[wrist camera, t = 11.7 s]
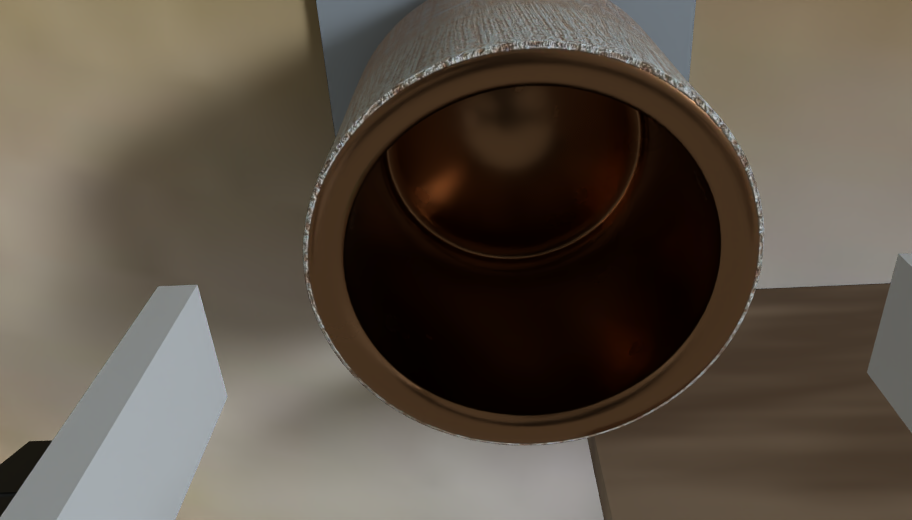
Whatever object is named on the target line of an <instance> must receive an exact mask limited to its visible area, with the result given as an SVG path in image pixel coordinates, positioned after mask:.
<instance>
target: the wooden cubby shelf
mask: <svg viewBox="0 0 912 520" xmlns="http://www.w3.org/2000/svg"><path fill="white" fill-rule="evenodd" d="M889 288H890V284H869V285H845V286H822V287H799V288H776V289H756V290H755V293H754V296H753V298H752V301H751V304H750V306H749V309H748V311H747V313H746V315H745V317H744V319H743V321H742V323H741V325H740V327H739V328H738V330H737V332H736V333H735V335H734V337H733V338H732V340H731V341H730V343H729V344H728V345H727V347H726V348H725V350H724V351H723V352H722V353H721V355H720V356H719V357H718V358H717V360H716V361H715V362H714V363H713V364H712V365H711V366H710V367H709V368H708V369H707V371H706V372H705V373H704V374H703V375H702V376H701V377H699V378H698V379H697V380H696V381H695V382H694V383H693V384H692V385H691V386H689V387H688V388H687V389H686V390H684V391H683V392H682V393H681V394H679V395H678V396H677V397H675V398H674V399H672V400H671V401H669V402H668V403H667V404H665V405H663V406H662V407H660V408H658V409H657V410H655V411H653V412H652V413H650V414H648V415H646V416H644V417H642V418H640V419H638V420H636V421H634V422H632V423H629V424H627V425H625V426H622V427H620V428H617V429H614V430H612V431H609V432H606V433H602V434H599V435H596V436H592V437H588V438H587V439H588V443H589V448H590V453H591V458H592V463H593V468H594V473H595V477H596V482H597V487H598V492H599V497H600V502H601V507H602V511H603V516H604V520H912V433H911V431H910V430H909V429H908V427H907V426H906V425H905V423H904V422H903V421H902V419H901V418H900V417H899V415H898V414H897V413H896V411H895V410H894V408H893V407H892V406H891V404H890V403H889V402H888V400H887V399H886V398H885V396H884V395H883V394H882V392H881V391H880V390H879V388H878V387H877V386H876V384H875V383H874V381H873V380H872V379H871V377H870V376H869V375H868V373H867V370H868V367H869V363H870V359H871V355H872V352H873V348H874V344H875V340H876V336H877V333H878V329H879V325H880V321H881V318H882V314H883V310H884V306H885V303H886V299H887V295H888V291H889Z"/></svg>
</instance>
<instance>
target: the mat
mask: <svg viewBox="0 0 912 520" xmlns="http://www.w3.org/2000/svg"><path fill="white" fill-rule="evenodd" d="M425 1H427V0H316V3H317V10H318V17H319V24H320V31H321V39H322V46H323V53H324V60H325V67H326V74H327V81H328V88H329V95H330V103H331V110H332V117H333V124H334V131H335V138H336V136H337V133H338V131H339V129H340V126H341V124H342V121H343V119H344V116H345V114H346V111H347V109H348V106H349V104H350V101H351V99H352V97H353V94H354V92H355V89H356V87H357V85H358V82H359V80H360V78H361V76H362V73H363V71H364V69H365V67H366V65H367V63H368V61H369V60H370V58H371V56H372V55H373V53H374V51H375V50H376V48H377V47H378V45H379V44H380V43H381V42H382V40H383V39H384V38H385V36H386V35H387V34H388V33H389V32H390V31H391V30H392V29H393V27H394V26H395V25H396V24H397V23H398V22H400V21H401V20H402V19H403V18H404V17H405V16H406V15H407V14H409V13H410V12H411V11H412V10H414V9H415V8H416V7H418V6H419V5H421V4H422V3H424V2H425ZM609 1H611V2H612V3H614V4H615V5H617V6H618V7H619V8H621V9H622V10H623V11H624V12H626V13H627V14H628V15H629V16H630V17H631V18H632V19H633V20H634V21H635V22H636V23H637V24H638V25H639V26H640V27H641V28H642V29H643V30H644V31H645V32H646V34H647V35H648V36H649V37H650V38H651V39H652V40H653V42H654V43H655V44H656V45H657V46H658V47H659V49H660V50H661V51H662V52H663V53H664V54H665V56H666V57H667V58H668V59H669V60H670V62H671V63H672V64H673V65H674V66H675V68H676V69H677V70H678V71H679V72H680V73H681V75H682V76H683V77H684V78H685V79H686V80H687V81H688V82H689V73H690V62H691V50H692V39H693V28H694V16H695V5H696V0H609Z"/></svg>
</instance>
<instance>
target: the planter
mask: <svg viewBox="0 0 912 520" xmlns="http://www.w3.org/2000/svg"><path fill="white" fill-rule="evenodd" d="M763 249H764V223H763V212H762V206H761V200H760V196H759V192H758V188H757V184H756V181H755V178H754V175H753V173H752V170H751V167H750V165H749V163H748V161H747V159H746V157H745V155H744V152H743V151H742V149H741V147H740V146H739V144H738V142H737V140H736V139H735V137H734V135H733V134H732V132H731V131H730V130H729V128H728V127H727V126H726V124H725V123H724V122H723V120H722V119H721V118H720V117H719V116H718V114H717V113H716V112H715V111H714V110H713V109H712V108H711V106H710V105H709V104H708V103H707V102H706V101H705V100H704V99H703V98H702V96H701V95H700V94H699V93H698V92H697V91H696V90H695V89H694V88H693V87H692V86H691V85H690V83H689V82H688V81H687V80H686V79H685V78H684V77H683V76H682V75H681V73H680V72H679V71H678V70H677V69H676V68H675V66H674V65H673V64H672V63H671V62H670V60H669V59H668V58H667V57H666V56H665V54H664V53H663V52H662V51H661V50H660V49H659V47H658V46H657V45H656V44H655V43H654V42H653V40H652V39H651V38H650V37H649V36H648V35H647V34H646V32H645V31H644V30H643V29H642V28H641V27H640V26H639V25H638V24H637V23H636V22H635V21H634V20H633V19H632V18H631V17H630V16H629V15H628V14H627V13H626V12H624V11H623V10H622V9H621V8H619V7H618V6H617V5H615V4H614V3H612V2H611V1H609V0H427V1H425V2H424V3H422V4H421V5H419V6H418V7H416V8H415V9H414V10H412V11H411V12H410V13H409V14H407V15H406V16H405V17H404V18H403V19H402V20H401V21H400V22H398V23H397V24H396V25H395V26H394V27H393V29H392V30H391V31H390V32H389V33H388V34H387V35H386V36H385V38H384V39H383V40H382V42H381V43H380V44H379V45H378V47H377V48H376V50H375V51H374V53H373V55H372V56H371V58H370V60H369V61H368V63H367V65H366V67H365V69H364V71H363V73H362V76H361V78H360V80H359V82H358V85H357V87H356V89H355V92H354V94H353V97H352V99H351V101H350V104H349V106H348V109H347V111H346V114H345V116H344V119H343V121H342V124H341V126H340V129H339V131H338V133H337V136H336V138H335V141H334V143H333V145H332V147H331V149H330V152H329V154H328V156H327V158H326V160H325V163H324V165H323V167H322V170H321V172H320V174H319V176H318V179H317V181H316V184H315V187H314V190H313V193H312V196H311V199H310V203H309V207H308V211H307V215H306V221H305V228H304V237H303V267H304V275H305V282H306V286H307V291H308V296H309V299H310V302H311V305H312V309H313V312H314V314H315V317H316V319H317V321H318V324H319V326H320V328H321V330H322V332H323V334H324V336H325V338H326V340H327V341H328V343H329V344H330V346H331V348H332V349H333V351H334V352H335V354H336V355H337V356H338V358H339V359H340V361H341V362H342V363H343V364H344V366H345V367H346V368H347V369H348V370H349V371H350V373H351V374H352V375H353V376H354V377H355V378H356V379H357V380H358V381H359V382H360V383H361V384H362V385H363V386H364V387H366V388H367V389H368V390H369V391H370V392H371V393H373V394H374V395H375V396H376V397H378V398H379V399H380V400H382V401H383V402H384V403H386V404H387V405H389V406H390V407H392V408H393V409H395V410H397V411H398V412H400V413H402V414H403V415H405V416H407V417H409V418H411V419H413V420H415V421H417V422H419V423H421V424H423V425H425V426H428V427H431V428H433V429H436V430H438V431H441V432H444V433H447V434H450V435H454V436H457V437H461V438H465V439H469V440H475V441H480V442H486V443H494V444H503V445H545V444H555V443H563V442H569V441H574V440H580V439H584V438H588V437H592V436H596V435H599V434H602V433H606V432H609V431H612V430H614V429H617V428H620V427H622V426H625V425H627V424H629V423H632V422H634V421H636V420H638V419H640V418H642V417H644V416H646V415H648V414H650V413H652V412H653V411H655V410H657V409H658V408H660V407H662V406H663V405H665V404H667V403H668V402H669V401H671V400H672V399H674V398H675V397H677V396H678V395H679V394H681V393H682V392H683V391H684V390H686V389H687V388H688V387H689V386H691V385H692V384H693V383H694V382H695V381H696V380H697V379H698V378H699V377H701V376H702V375H703V374H704V373H705V372H706V371H707V369H708V368H709V367H710V366H711V365H712V364H713V363H714V362H715V361H716V360H717V358H718V357H719V356H720V355H721V353H722V352H723V351H724V350H725V348H726V347H727V345H728V344H729V343H730V341H731V340H732V338H733V337H734V335H735V333H736V332H737V330H738V328H739V327H740V325H741V323H742V321H743V319H744V317H745V315H746V313H747V311H748V309H749V306H750V304H751V301H752V298H753V296H754V293H755V290H756V286H757V283H758V279H759V275H760V270H761V265H762V258H763Z"/></svg>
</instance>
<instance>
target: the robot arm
mask: <svg viewBox="0 0 912 520" xmlns="http://www.w3.org/2000/svg"><path fill="white" fill-rule="evenodd" d="M867 373H868V375H869V376H870V377H871V379H872V380H873V381H874V383H875V384H876V386H877V387H878V388H879V390H880V391H881V392H882V394H883V395H884V396H885V398H886V399H887V400H888V402H889V403H890V404H891V406H892V407H893V408H894V410H895V411H896V413H897V414H898V415H899V417H900V418H901V419H902V421H903V422H904V423H905V425H906V426H907V427H908V429H909V430H910V431H911V433H912V253H903V254H898V257H897V261H896V265H895V269H894V273H893V276H892V280H891V284H890V288H889V291H888V295H887V299H886V303H885V306H884V310H883V314H882V318H881V321H880V325H879V329H878V333H877V336H876V340H875V344H874V348H873V352H872V355H871V359H870V363H869V367H868V370H867ZM227 397H228V396H227V393H226V389H225V385H224V382H223V378H222V374H221V370H220V367H219V363H218V359H217V356H216V352H215V348H214V344H213V341H212V337H211V333H210V329H209V326H208V322H207V318H206V315H205V311H204V307H203V303H202V300H201V296H200V292H199V289H198V285H177V286H158V287H157V289H156V290H155V292H154V293H153V295H152V296H151V297H150V299H149V300H148V302H147V303H146V305H145V306H144V308H143V309H142V311H141V312H140V314H139V315H138V316H137V318H136V319H135V321H134V322H133V324H132V325H131V327H130V328H129V330H128V331H127V333H126V334H125V336H124V337H123V338H122V340H121V341H120V343H119V344H118V346H117V347H116V349H115V350H114V352H113V353H112V355H111V356H110V357H109V359H108V360H107V362H106V363H105V365H104V366H103V368H102V369H101V371H100V372H99V374H98V375H97V376H96V378H95V379H94V381H93V382H92V384H91V385H90V387H89V388H88V390H87V391H86V393H85V394H84V395H83V397H82V398H81V400H80V401H79V403H78V404H77V406H76V407H75V409H74V410H73V412H72V413H71V414H70V416H69V417H68V419H67V420H66V422H65V423H64V425H63V426H62V428H61V429H60V431H59V432H58V433H57V435H56V436H55V438H54V439H53V441H29V442H28V443H27V444H25V445H24V446H23V447H22V448H20V449H19V450H18V451H17V452H15V453H14V454H13V455H12V456H10V457H9V458H8V459H7V460H5V461H4V462H3V463H2V464H0V520H175V519H176V516H177V514H178V512H179V509H180V507H181V505H182V502H183V500H184V498H185V495H186V493H187V491H188V488H189V486H190V484H191V481H192V479H193V477H194V474H195V472H196V470H197V467H198V465H199V463H200V460H201V458H202V455H203V453H204V451H205V448H206V446H207V444H208V441H209V439H210V437H211V434H212V432H213V430H214V427H215V425H216V423H217V420H218V418H219V416H220V413H221V411H222V409H223V406H224V404H225V402H226V399H227Z"/></svg>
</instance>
